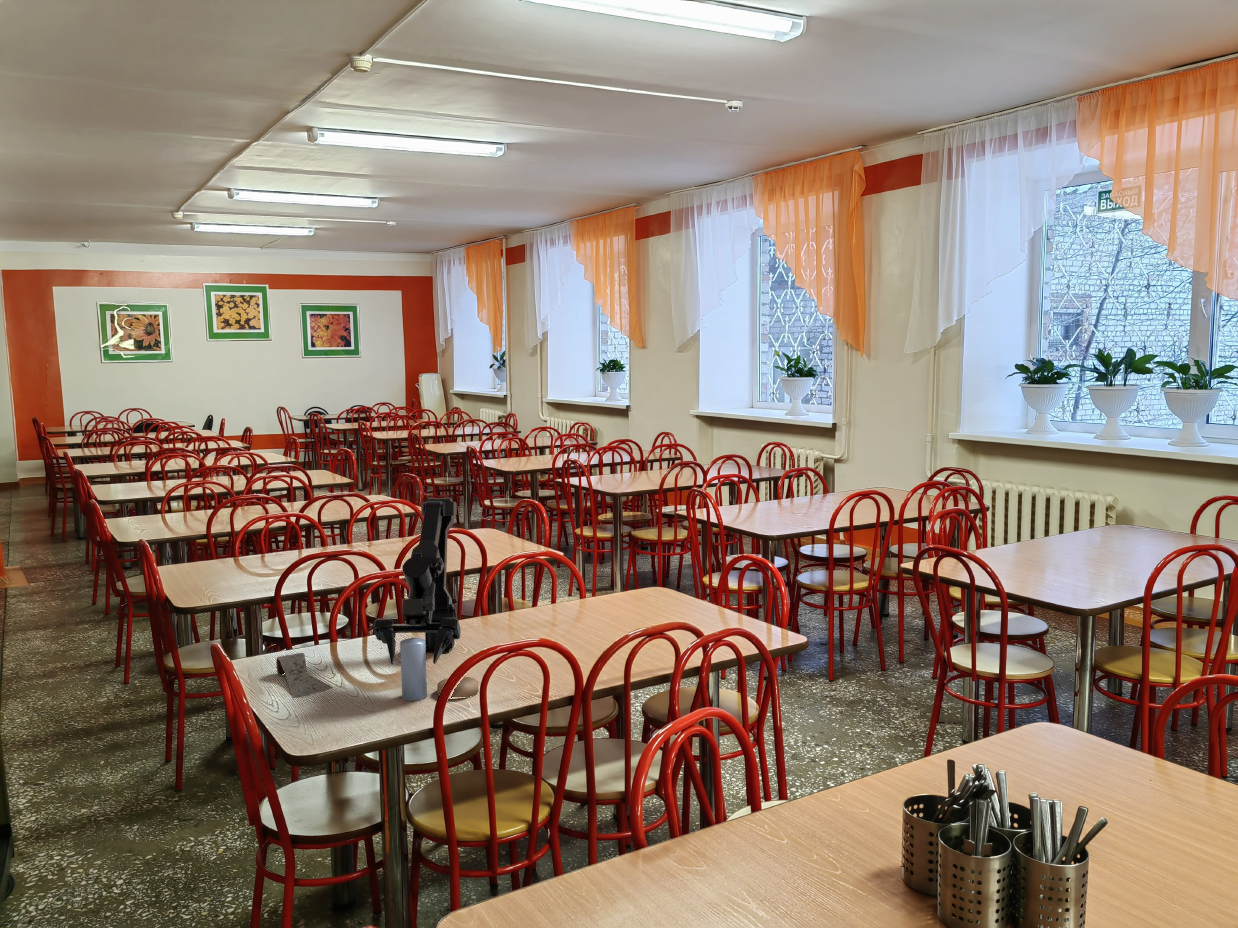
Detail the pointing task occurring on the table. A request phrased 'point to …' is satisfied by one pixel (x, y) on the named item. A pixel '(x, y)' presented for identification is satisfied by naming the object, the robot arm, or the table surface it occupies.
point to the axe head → (299, 676)
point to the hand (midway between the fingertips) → (413, 663)
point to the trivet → (462, 687)
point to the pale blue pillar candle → (413, 669)
